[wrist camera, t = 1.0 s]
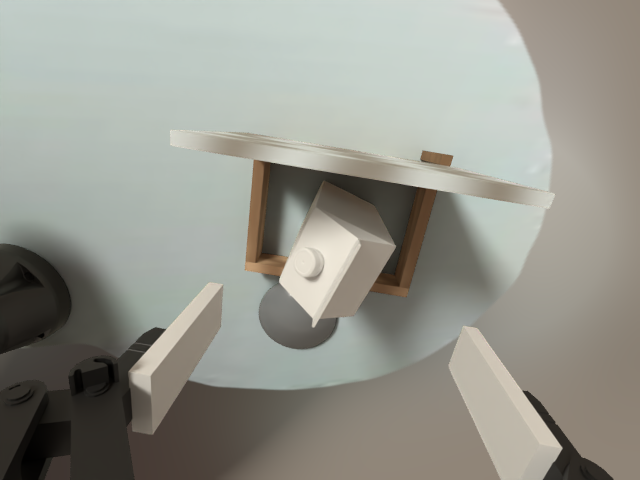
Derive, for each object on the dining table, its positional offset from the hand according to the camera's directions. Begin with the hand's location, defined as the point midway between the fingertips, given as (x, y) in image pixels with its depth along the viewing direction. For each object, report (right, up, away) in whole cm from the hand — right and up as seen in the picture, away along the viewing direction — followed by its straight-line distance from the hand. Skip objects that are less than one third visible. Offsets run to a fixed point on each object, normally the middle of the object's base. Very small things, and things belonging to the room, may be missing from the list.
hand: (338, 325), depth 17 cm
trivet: (-4, -6, +27) cm, 28 cm away
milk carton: (+1, +8, +22) cm, 24 cm away
